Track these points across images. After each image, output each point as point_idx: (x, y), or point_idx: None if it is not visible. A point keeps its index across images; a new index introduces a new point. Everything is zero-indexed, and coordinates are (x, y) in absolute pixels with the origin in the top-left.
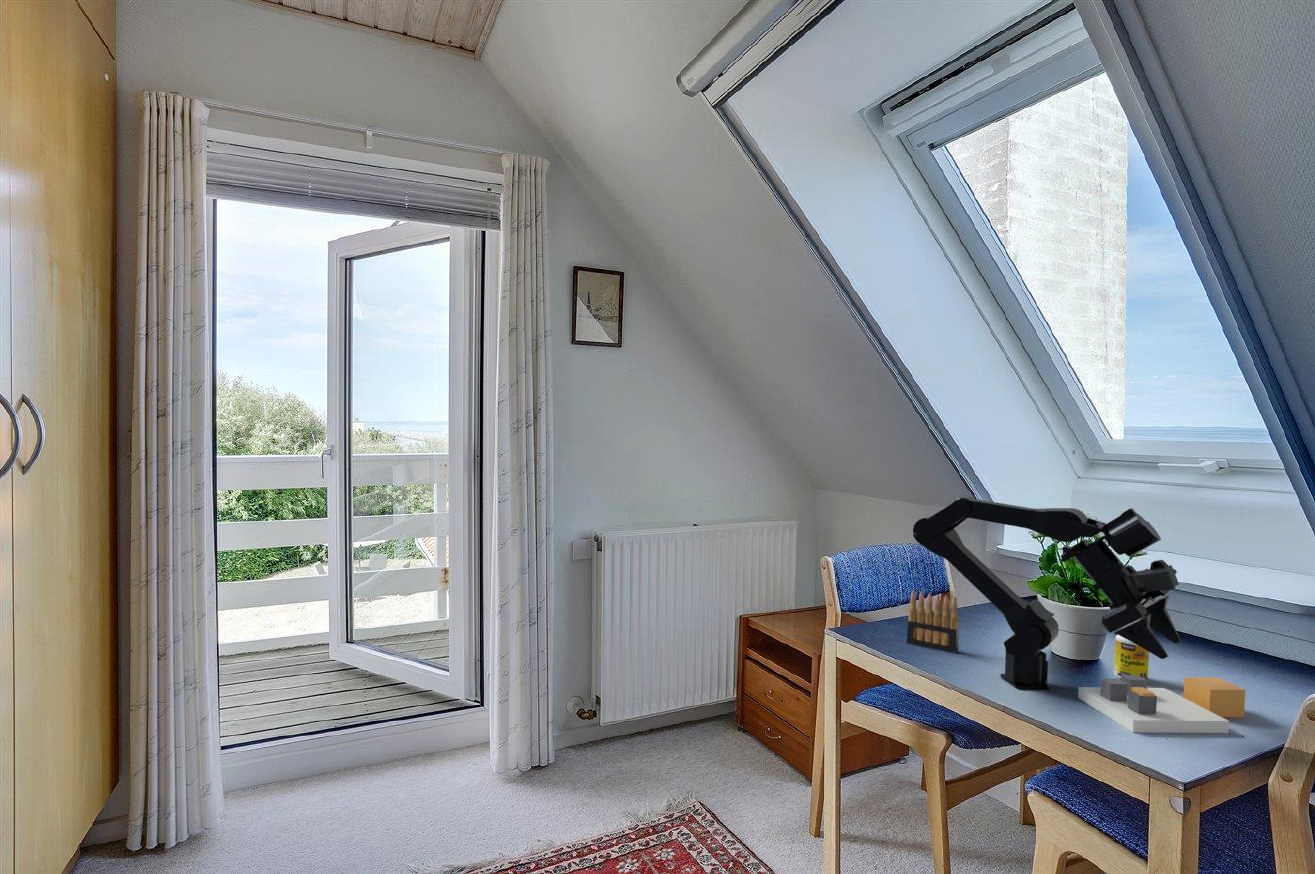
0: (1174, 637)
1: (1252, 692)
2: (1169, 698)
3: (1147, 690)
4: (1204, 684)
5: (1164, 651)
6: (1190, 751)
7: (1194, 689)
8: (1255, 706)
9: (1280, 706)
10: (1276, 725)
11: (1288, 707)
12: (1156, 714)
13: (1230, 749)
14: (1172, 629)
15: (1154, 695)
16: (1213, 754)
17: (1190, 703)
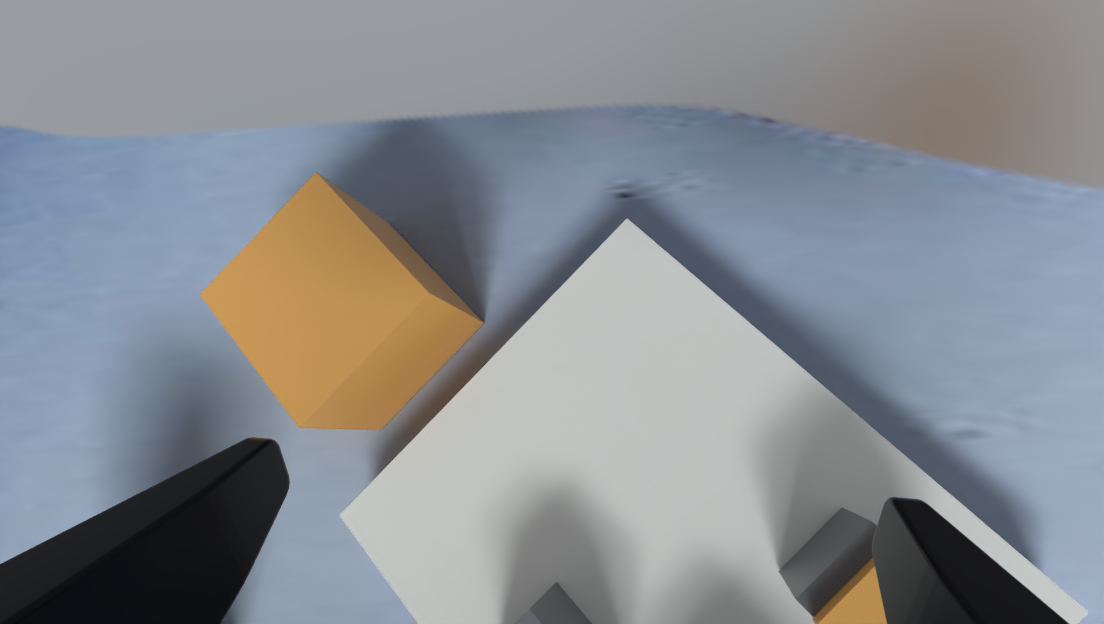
0: (247, 496)
1: (80, 242)
2: (491, 476)
3: (873, 589)
4: (359, 328)
5: (968, 543)
6: (1055, 324)
7: (376, 376)
8: (230, 212)
9: (178, 153)
10: (397, 130)
11: (173, 134)
12: (834, 505)
13: (845, 203)
14: (164, 534)
15: (870, 536)
16: (991, 243)
17: (497, 384)
